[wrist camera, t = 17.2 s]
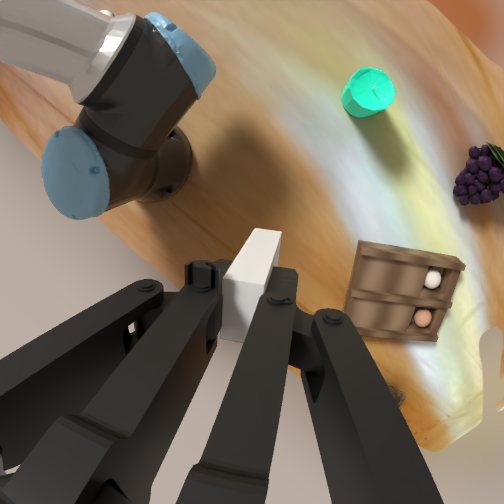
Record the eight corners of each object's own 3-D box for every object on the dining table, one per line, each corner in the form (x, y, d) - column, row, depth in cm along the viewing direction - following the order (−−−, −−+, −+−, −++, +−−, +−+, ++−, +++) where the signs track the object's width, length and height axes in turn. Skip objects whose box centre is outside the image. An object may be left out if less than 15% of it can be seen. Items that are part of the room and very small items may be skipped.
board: (339, 320, 54) (341, 333, 50) (358, 240, 48) (362, 248, 44) (430, 329, 51) (436, 341, 47) (456, 256, 45) (465, 265, 41)
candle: (378, 119, 40) (399, 111, 29) (341, 117, 42) (352, 107, 31) (376, 84, 38) (396, 66, 27) (339, 81, 39) (349, 61, 28)
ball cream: (416, 283, 48) (426, 292, 44) (421, 265, 47) (432, 273, 43) (431, 283, 48) (441, 292, 45) (436, 265, 47) (446, 273, 43)
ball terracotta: (408, 323, 50) (421, 332, 47) (413, 307, 49) (427, 316, 46) (418, 318, 51) (431, 327, 48) (423, 303, 50) (437, 311, 47)
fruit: (438, 174, 44) (488, 122, 35) (471, 217, 43) (521, 168, 34) (446, 185, 36) (507, 122, 27) (484, 237, 35) (543, 178, 26)
